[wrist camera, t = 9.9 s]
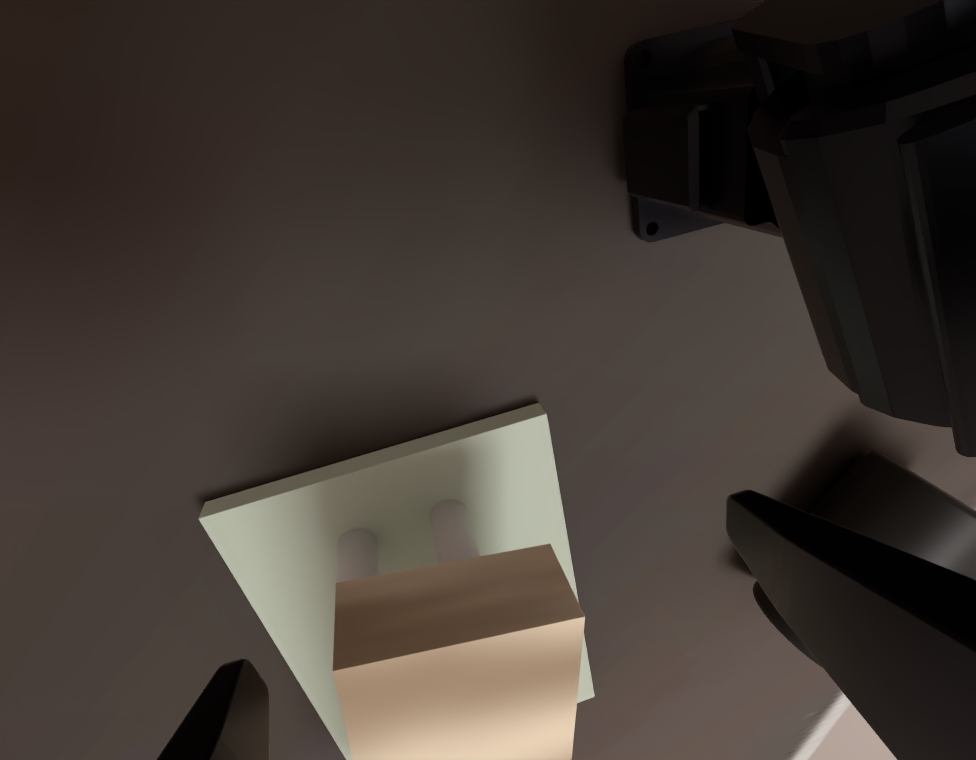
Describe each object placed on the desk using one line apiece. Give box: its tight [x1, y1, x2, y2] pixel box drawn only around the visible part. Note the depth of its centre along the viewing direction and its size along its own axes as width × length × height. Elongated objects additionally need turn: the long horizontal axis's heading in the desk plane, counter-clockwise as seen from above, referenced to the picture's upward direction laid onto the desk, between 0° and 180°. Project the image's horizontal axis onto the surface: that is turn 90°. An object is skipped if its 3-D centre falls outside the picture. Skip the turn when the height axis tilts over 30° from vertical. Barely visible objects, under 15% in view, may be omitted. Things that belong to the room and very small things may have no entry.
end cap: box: [753, 451, 976, 667], centre depth 27 cm, size 10×7×7 cm
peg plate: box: [199, 403, 595, 760], centre depth 23 cm, size 20×14×6 cm
